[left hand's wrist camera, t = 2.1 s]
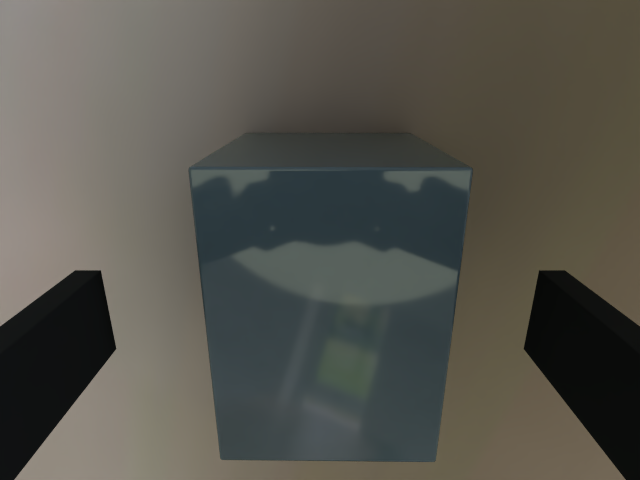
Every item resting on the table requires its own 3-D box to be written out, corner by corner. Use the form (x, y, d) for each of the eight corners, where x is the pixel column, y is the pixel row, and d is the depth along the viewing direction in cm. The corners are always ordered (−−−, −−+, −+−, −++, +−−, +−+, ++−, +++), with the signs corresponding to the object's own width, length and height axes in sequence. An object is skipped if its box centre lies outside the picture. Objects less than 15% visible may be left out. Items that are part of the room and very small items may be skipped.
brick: (256, 329, 20) (219, 461, 13) (244, 132, 17) (187, 167, 10) (397, 330, 20) (436, 463, 13) (412, 132, 16) (474, 167, 10)
